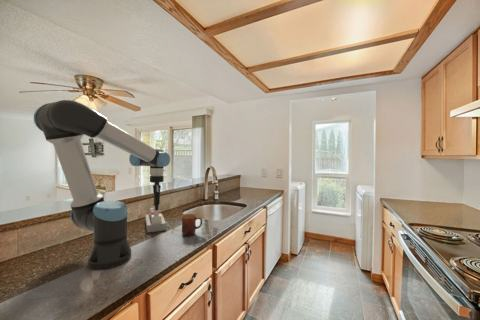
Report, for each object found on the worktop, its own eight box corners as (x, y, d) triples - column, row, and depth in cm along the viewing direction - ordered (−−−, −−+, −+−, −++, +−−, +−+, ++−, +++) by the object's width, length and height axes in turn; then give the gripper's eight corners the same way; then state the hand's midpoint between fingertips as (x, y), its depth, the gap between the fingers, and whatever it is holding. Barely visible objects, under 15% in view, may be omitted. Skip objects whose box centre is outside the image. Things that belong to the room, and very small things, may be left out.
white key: (151, 225, 116) (152, 217, 116) (151, 222, 120) (151, 214, 120) (161, 223, 118) (161, 216, 118) (160, 221, 123) (160, 214, 123)
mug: (177, 236, 108) (178, 217, 108) (184, 231, 117) (184, 213, 117) (199, 238, 107) (199, 218, 107) (204, 232, 116) (204, 214, 116)
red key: (151, 219, 123) (151, 212, 123) (150, 217, 127) (150, 210, 127) (159, 218, 125) (159, 211, 125) (159, 216, 129) (159, 209, 129)
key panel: (147, 232, 114) (147, 225, 114) (145, 220, 134) (145, 214, 134) (166, 229, 118) (166, 223, 118) (161, 219, 139) (161, 213, 139)
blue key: (150, 216, 129) (150, 209, 129) (149, 214, 134) (149, 207, 134) (158, 215, 132) (158, 208, 132) (157, 213, 136) (158, 207, 136)
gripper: (164, 176, 115) (164, 217, 115) (162, 174, 127) (161, 211, 127) (150, 176, 112) (150, 219, 112) (149, 174, 123) (148, 213, 123)
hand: (156, 215), depth 119 cm, fingers closed
